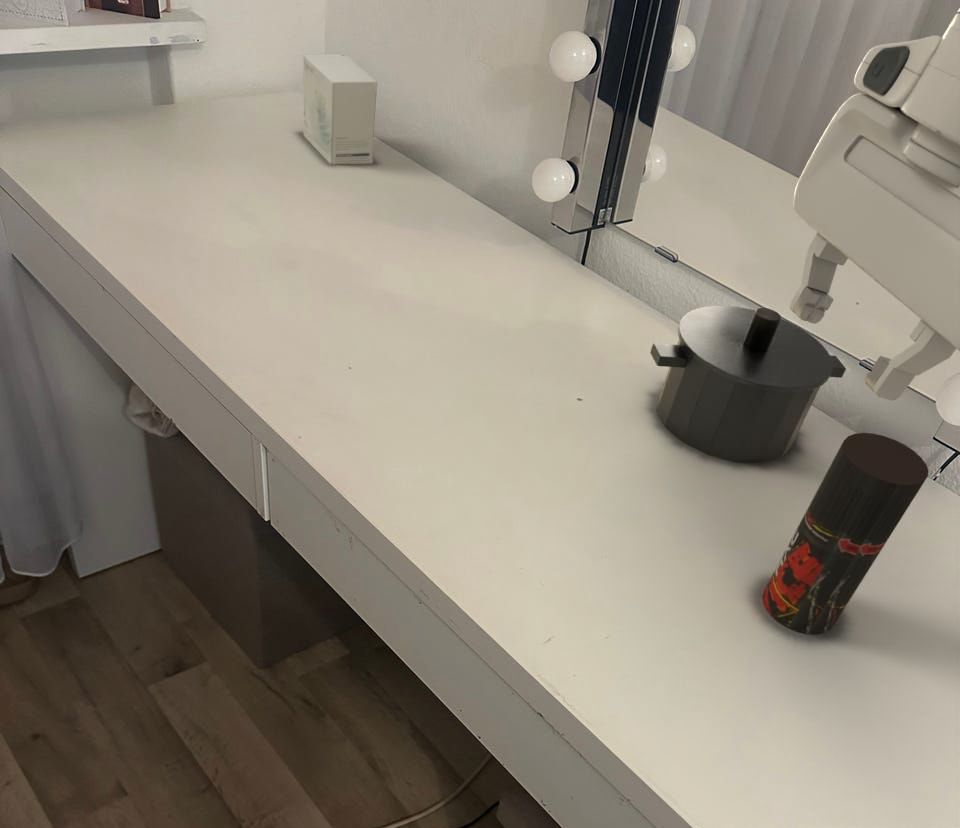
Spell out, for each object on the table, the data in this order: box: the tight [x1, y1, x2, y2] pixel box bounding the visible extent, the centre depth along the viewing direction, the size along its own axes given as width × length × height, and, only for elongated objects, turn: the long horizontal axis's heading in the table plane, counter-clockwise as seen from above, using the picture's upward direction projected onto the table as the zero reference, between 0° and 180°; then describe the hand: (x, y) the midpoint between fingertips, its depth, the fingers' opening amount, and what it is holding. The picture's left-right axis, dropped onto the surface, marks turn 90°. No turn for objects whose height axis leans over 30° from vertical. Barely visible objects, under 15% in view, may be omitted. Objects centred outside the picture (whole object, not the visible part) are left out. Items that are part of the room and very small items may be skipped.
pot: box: [649, 339, 847, 465], centre depth 87 cm, size 14×19×8 cm
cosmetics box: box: [302, 53, 378, 165], centre depth 120 cm, size 10×6×10 cm, turn 28°
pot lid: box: [677, 305, 833, 392], centre depth 83 cm, size 15×15×4 cm
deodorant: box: [762, 432, 929, 636], centre depth 67 cm, size 6×6×15 cm
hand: (838, 352), depth 56 cm, fingers open, 8 cm apart
